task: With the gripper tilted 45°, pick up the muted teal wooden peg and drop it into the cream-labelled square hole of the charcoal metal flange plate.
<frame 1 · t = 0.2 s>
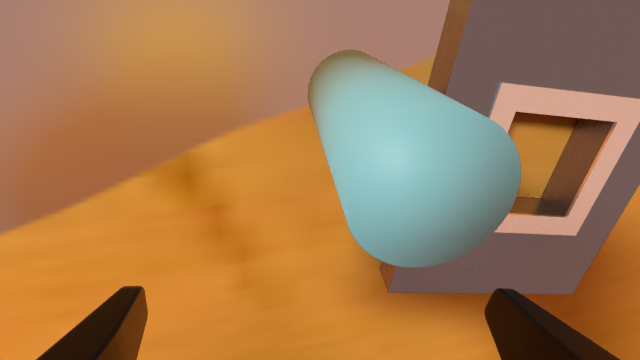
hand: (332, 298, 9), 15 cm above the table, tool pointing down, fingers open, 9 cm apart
teal peg: (348, 93, 21), on the table
flange plate: (517, 153, 24), on the table
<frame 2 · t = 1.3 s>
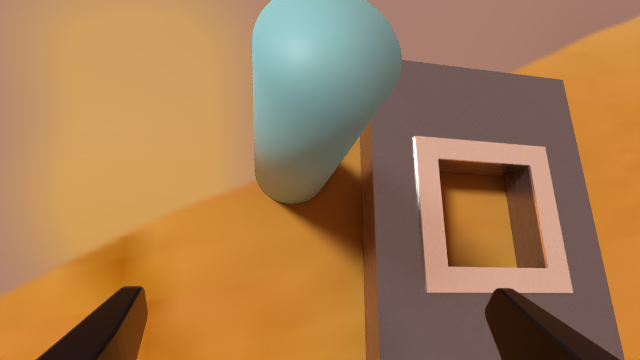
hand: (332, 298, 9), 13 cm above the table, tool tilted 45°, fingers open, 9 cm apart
teal peg: (291, 168, 23), on the table
flange plate: (467, 219, 25), on the table
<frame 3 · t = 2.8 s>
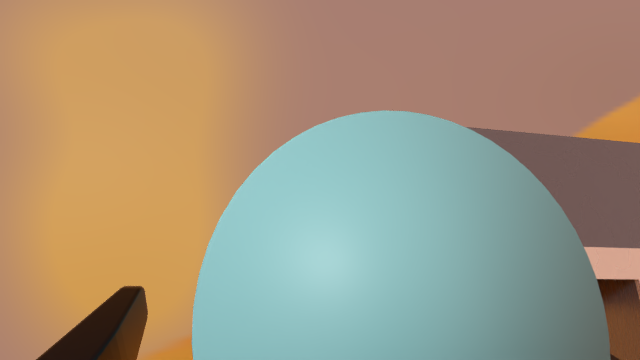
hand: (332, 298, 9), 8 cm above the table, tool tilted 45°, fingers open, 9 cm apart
teal peg: (295, 287, 16), on the table
flange plate: (545, 349, 17), on the table
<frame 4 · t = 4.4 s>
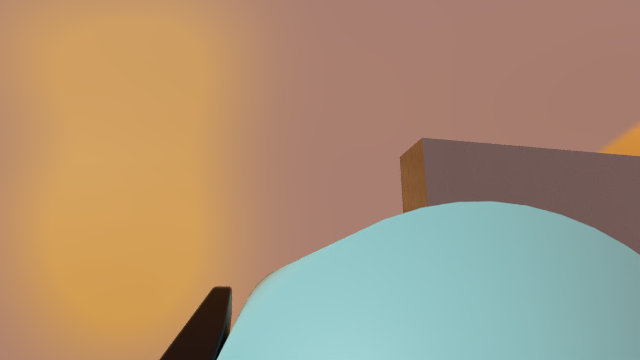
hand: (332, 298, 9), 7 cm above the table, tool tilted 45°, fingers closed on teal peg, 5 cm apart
teal peg: (300, 324, 14), on the table, touching gripper
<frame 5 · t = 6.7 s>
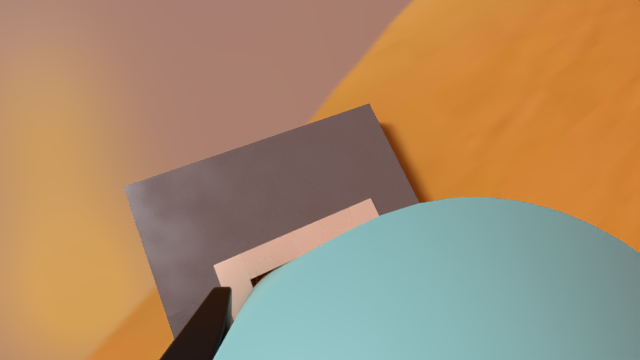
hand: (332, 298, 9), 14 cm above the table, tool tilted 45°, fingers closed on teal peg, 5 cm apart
teal peg: (299, 323, 14), point 7 cm above the table, touching gripper
flange plate: (323, 308, 21), on the table
when the fingers open (8 cm above the table, at t = 9.1 s): teal peg drops 1 cm, resting in flange plate.
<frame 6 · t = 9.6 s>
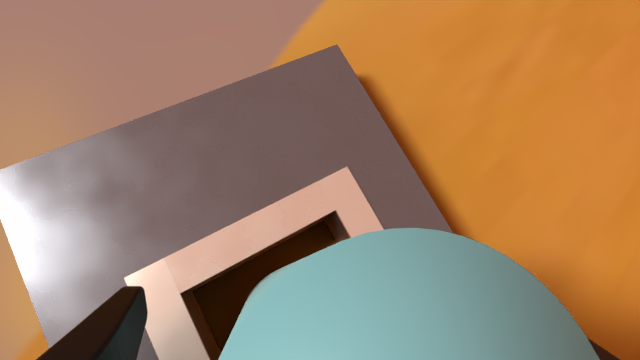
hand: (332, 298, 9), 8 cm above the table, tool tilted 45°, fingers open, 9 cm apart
teal peg: (295, 320, 16), resting in flange plate
flange plate: (296, 320, 16), on the table
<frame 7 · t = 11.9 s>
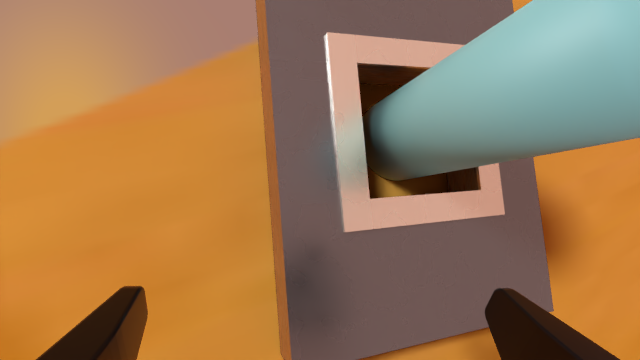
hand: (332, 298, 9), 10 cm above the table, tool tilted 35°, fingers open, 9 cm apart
teal peg: (395, 140, 21), resting in flange plate
flange plate: (395, 140, 21), on the table
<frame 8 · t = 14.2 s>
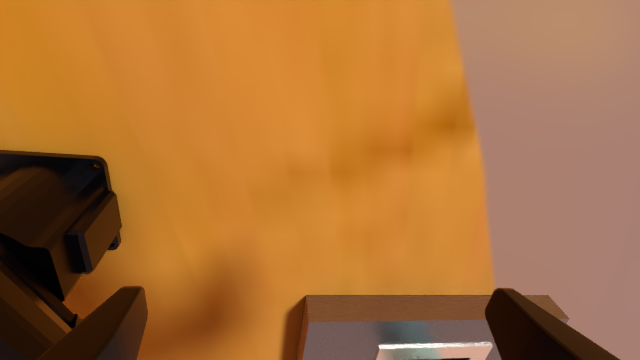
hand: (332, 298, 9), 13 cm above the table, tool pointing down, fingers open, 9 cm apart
flange plate: (410, 355, 32), on the table
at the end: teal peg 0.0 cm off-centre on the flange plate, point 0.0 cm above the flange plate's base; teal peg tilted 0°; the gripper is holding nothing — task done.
